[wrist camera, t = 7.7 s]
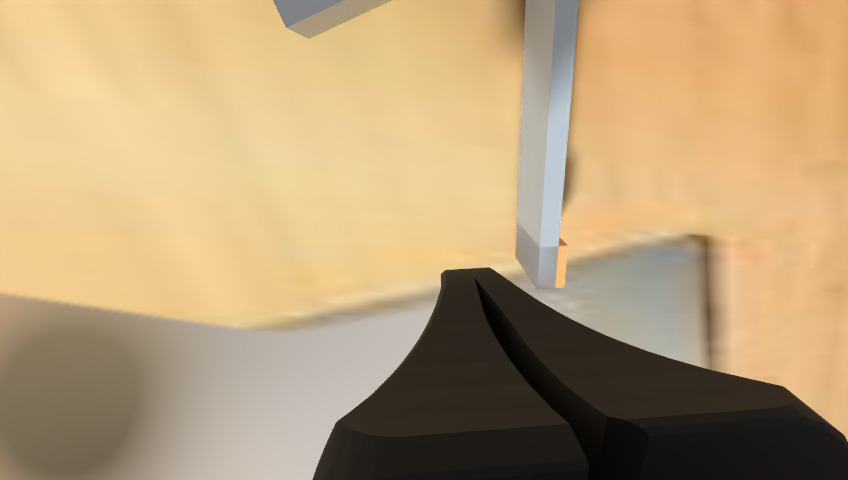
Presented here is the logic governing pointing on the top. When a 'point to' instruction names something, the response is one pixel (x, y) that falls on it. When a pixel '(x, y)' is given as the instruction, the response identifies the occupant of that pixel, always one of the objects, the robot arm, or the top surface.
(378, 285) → the top surface
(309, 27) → the grey flat block
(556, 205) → the side door
